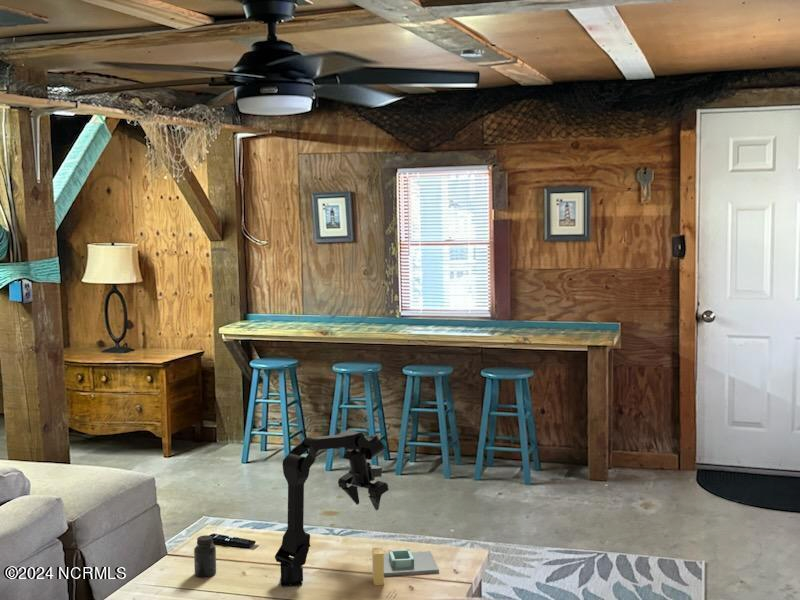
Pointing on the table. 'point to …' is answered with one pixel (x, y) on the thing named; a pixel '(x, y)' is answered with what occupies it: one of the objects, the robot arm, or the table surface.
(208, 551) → the supplement bottle
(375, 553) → the block
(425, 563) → the plate
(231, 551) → the table surface
